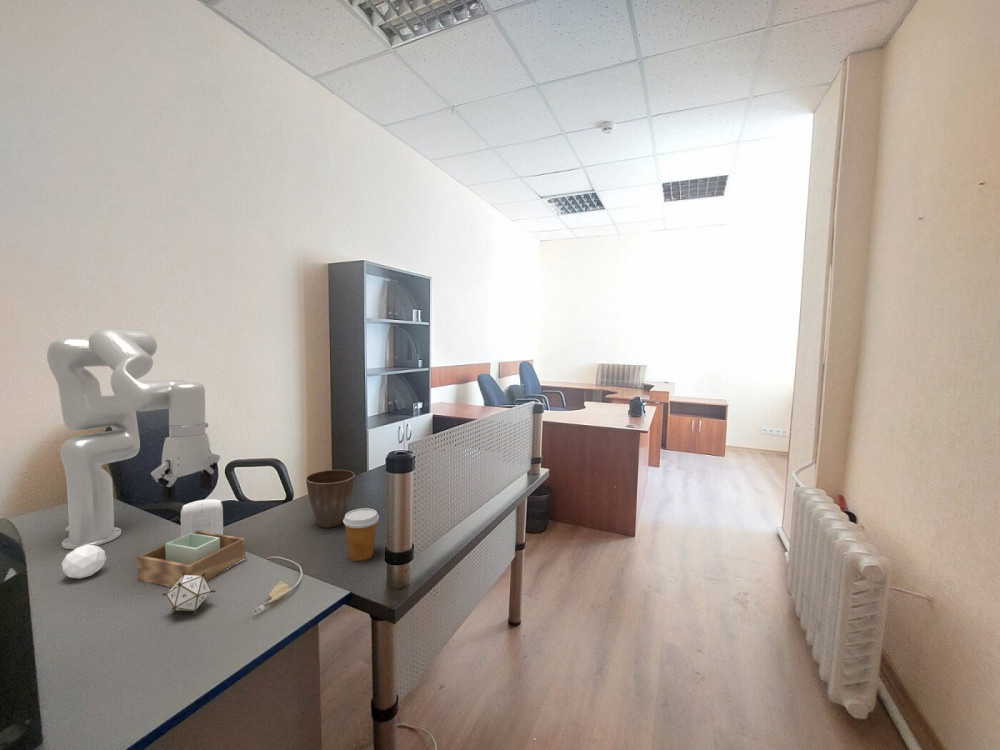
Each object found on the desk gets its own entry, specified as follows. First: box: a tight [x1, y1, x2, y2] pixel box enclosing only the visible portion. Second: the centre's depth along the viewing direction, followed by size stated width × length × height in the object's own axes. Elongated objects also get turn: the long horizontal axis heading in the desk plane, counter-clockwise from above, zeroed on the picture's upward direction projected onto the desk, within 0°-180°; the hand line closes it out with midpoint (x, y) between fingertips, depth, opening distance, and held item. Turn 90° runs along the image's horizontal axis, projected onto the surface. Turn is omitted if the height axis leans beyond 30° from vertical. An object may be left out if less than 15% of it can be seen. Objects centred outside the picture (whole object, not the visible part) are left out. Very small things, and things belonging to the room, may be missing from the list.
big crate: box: [136, 531, 246, 588], centre depth 108 cm, size 17×16×6 cm
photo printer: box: [180, 498, 224, 537], centre depth 123 cm, size 10×4×12 cm, turn 123°
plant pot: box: [305, 469, 356, 529], centre depth 137 cm, size 15×15×16 cm
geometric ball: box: [61, 544, 107, 580], centre depth 104 cm, size 8×8×8 cm
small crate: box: [164, 533, 220, 565], centre depth 108 cm, size 10×7×7 cm, turn 75°
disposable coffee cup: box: [342, 507, 380, 562], centre depth 116 cm, size 10×10×12 cm
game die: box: [161, 571, 217, 615], centre depth 91 cm, size 9×8×10 cm
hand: (188, 494), depth 109 cm, fingers open, 9 cm apart
